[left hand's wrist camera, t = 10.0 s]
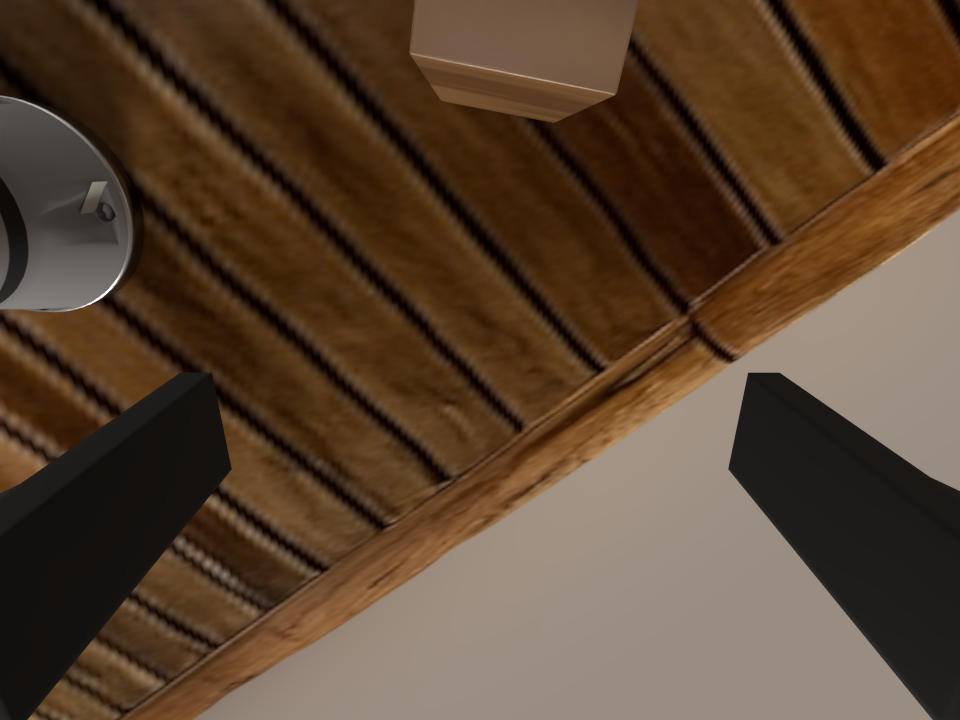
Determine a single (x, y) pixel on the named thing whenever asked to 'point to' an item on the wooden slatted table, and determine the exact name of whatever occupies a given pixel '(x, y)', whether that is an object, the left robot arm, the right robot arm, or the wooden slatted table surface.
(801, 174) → the wooden slatted table surface
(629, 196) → the wooden slatted table surface
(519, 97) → the box
